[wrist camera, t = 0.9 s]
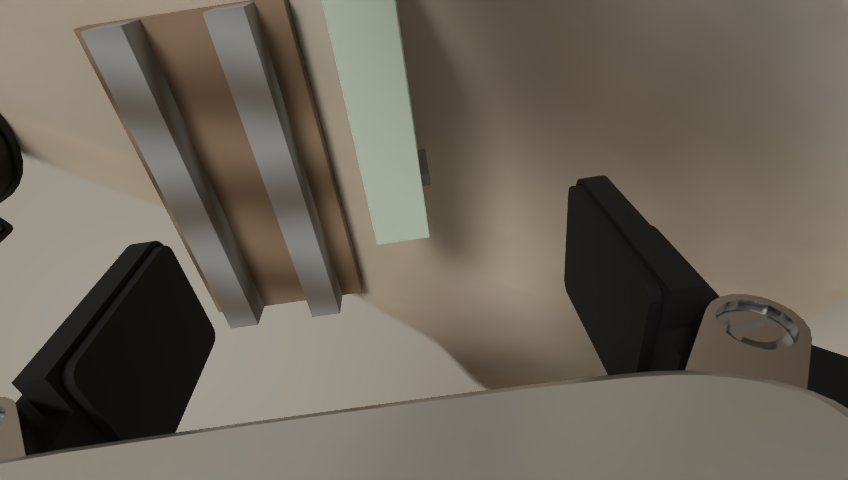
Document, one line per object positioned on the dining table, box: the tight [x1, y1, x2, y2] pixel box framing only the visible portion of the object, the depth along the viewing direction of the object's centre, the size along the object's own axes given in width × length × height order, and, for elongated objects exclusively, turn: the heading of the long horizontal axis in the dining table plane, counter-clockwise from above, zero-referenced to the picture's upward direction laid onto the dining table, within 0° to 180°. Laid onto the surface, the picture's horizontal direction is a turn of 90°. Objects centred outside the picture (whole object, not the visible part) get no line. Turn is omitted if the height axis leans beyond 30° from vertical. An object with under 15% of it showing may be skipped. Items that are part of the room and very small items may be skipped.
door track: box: [74, 0, 362, 328], centre depth 29 cm, size 20×11×3 cm, turn 7°
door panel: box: [322, 0, 430, 245], centre depth 22 cm, size 12×3×10 cm, turn 7°
